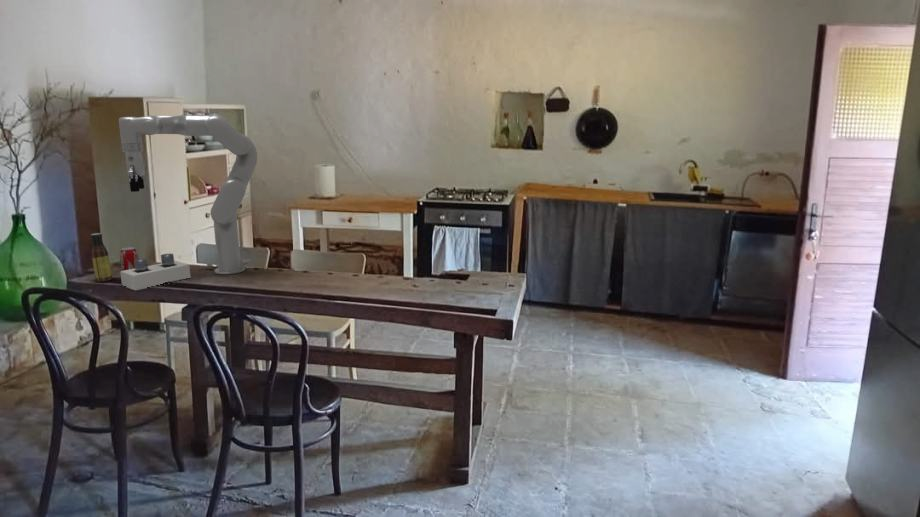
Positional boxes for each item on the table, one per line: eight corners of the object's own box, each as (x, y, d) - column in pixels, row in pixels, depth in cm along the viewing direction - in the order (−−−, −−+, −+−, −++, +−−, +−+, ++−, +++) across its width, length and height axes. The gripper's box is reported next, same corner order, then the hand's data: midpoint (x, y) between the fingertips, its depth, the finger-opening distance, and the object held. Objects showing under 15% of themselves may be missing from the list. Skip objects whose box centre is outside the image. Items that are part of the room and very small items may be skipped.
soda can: (135, 277, 282) (132, 249, 280) (119, 277, 283) (115, 250, 280) (143, 273, 289) (140, 246, 287) (127, 273, 290) (124, 246, 287)
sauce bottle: (115, 278, 281) (109, 232, 277) (106, 282, 275) (100, 235, 271) (101, 278, 282) (94, 232, 277) (92, 282, 276) (85, 235, 271)
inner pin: (171, 266, 281) (169, 253, 279) (177, 267, 278) (175, 254, 276) (160, 268, 277) (158, 255, 276) (165, 269, 274) (164, 256, 273)
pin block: (176, 274, 287) (175, 260, 285) (190, 278, 279) (189, 264, 278) (122, 285, 270) (120, 271, 268) (135, 290, 262) (133, 275, 261)
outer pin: (145, 271, 272) (143, 257, 271) (150, 272, 269) (149, 259, 268) (133, 273, 269) (131, 260, 268) (138, 275, 266) (137, 261, 265)
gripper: (138, 149, 262) (143, 192, 266) (146, 146, 279) (151, 187, 283) (117, 149, 261) (122, 193, 265) (127, 147, 277) (132, 188, 281)
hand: (137, 190), depth 274 cm, fingers open, 9 cm apart
